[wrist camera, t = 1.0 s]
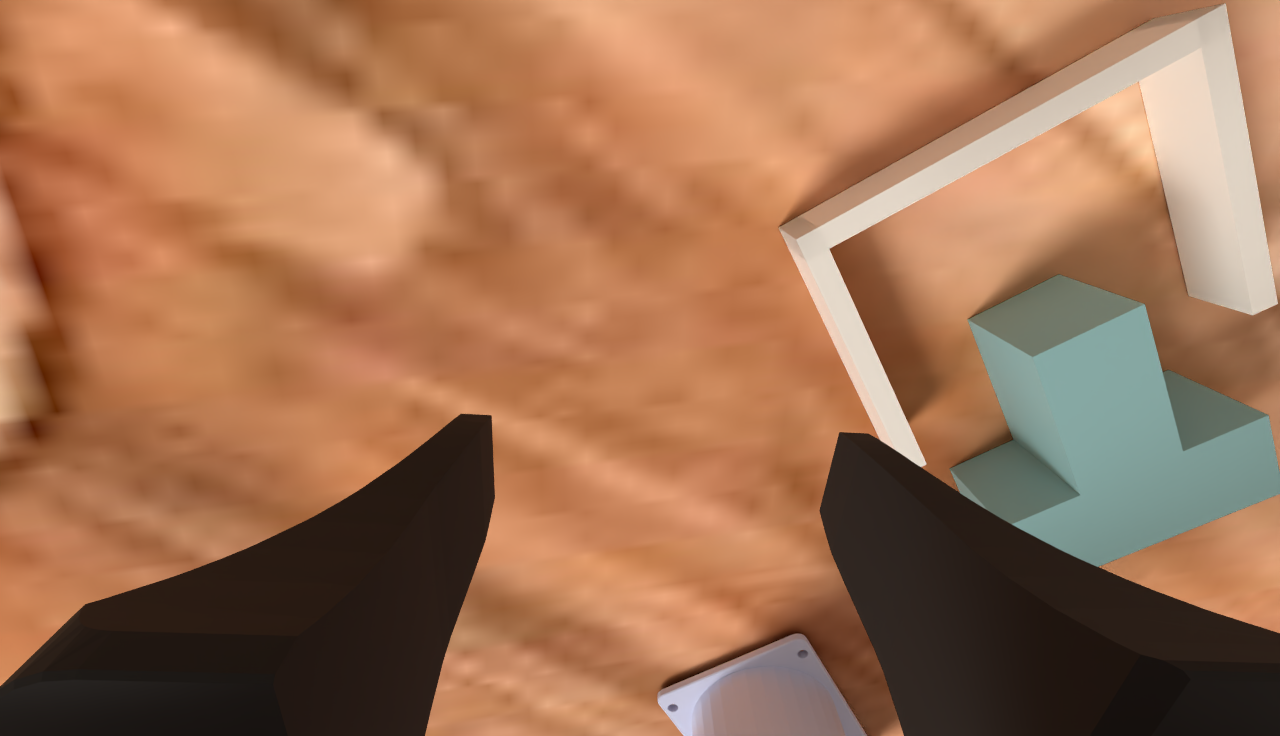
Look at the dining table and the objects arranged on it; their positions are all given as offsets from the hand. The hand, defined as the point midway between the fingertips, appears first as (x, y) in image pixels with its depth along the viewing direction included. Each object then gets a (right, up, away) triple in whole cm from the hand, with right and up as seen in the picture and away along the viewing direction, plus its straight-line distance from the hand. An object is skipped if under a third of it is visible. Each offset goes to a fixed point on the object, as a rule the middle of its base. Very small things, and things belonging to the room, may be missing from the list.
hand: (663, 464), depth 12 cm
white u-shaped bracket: (+13, +6, +9) cm, 17 cm away
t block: (+16, +1, +12) cm, 20 cm away
